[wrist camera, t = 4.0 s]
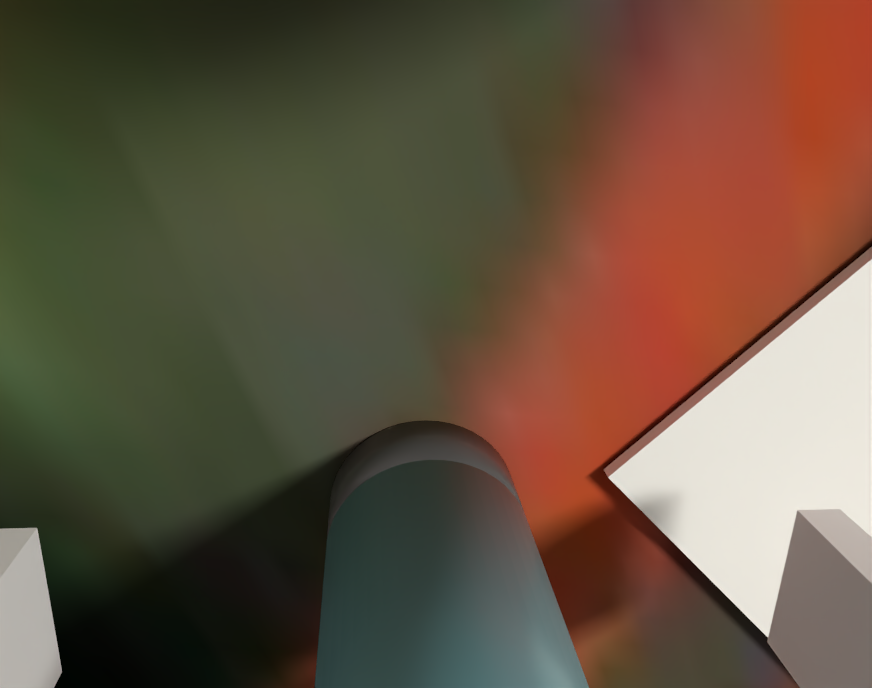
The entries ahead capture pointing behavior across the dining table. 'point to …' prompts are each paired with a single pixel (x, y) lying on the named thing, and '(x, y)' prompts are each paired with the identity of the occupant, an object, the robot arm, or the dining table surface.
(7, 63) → the dining table surface
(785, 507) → the paper
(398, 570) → the teal rounded cylinder
